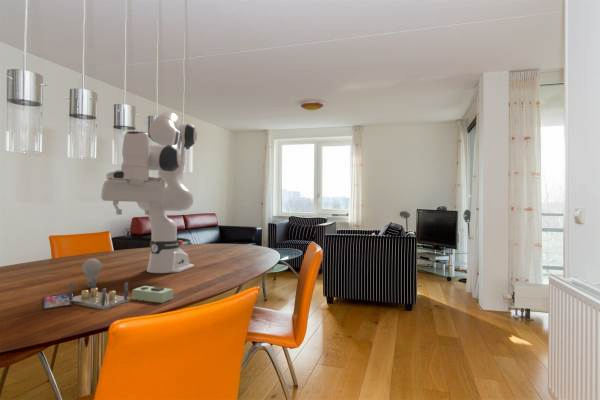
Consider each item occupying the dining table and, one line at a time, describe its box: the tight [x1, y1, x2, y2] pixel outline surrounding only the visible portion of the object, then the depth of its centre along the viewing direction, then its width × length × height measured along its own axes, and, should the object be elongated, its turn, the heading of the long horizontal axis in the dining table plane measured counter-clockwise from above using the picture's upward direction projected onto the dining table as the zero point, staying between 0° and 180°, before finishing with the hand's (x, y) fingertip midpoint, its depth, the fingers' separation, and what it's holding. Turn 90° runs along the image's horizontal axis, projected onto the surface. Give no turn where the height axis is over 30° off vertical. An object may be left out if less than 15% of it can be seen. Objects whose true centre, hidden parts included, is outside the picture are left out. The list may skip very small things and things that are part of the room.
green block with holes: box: [131, 285, 174, 304], centre depth 115 cm, size 6×12×4 cm, turn 73°
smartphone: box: [41, 293, 73, 311], centre depth 109 cm, size 8×1×15 cm
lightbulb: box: [81, 258, 102, 289], centre depth 126 cm, size 6×6×11 cm
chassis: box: [66, 278, 132, 310], centre depth 110 cm, size 10×17×6 cm, turn 68°
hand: (133, 214), depth 120 cm, fingers open, 8 cm apart
